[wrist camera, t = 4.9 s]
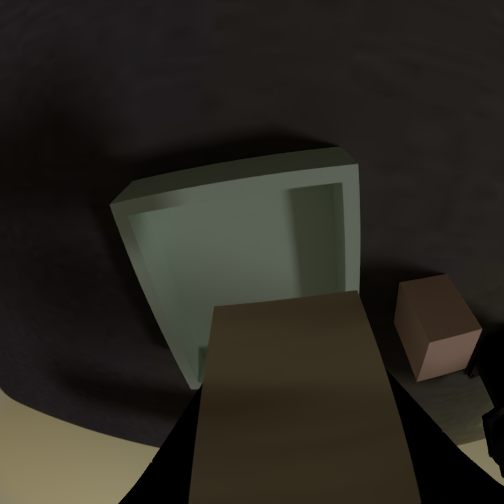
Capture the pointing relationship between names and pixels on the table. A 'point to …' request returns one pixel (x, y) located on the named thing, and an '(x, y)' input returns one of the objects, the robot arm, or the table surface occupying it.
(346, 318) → the maple block
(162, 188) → the sage tub
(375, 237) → the table surface
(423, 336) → the coral block
